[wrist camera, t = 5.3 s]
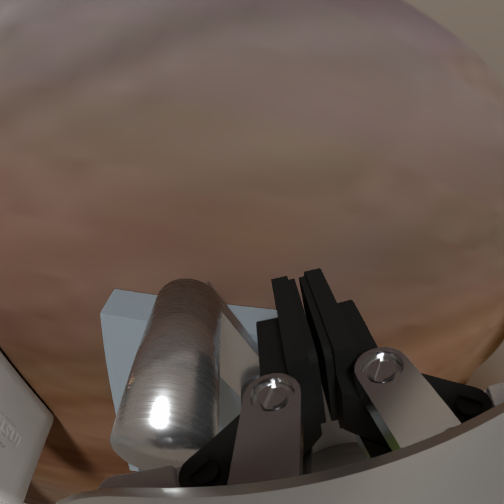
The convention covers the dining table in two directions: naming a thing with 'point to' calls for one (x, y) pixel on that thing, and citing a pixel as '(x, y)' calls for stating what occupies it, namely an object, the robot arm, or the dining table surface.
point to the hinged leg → (181, 376)
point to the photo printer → (19, 433)
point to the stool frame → (126, 345)
